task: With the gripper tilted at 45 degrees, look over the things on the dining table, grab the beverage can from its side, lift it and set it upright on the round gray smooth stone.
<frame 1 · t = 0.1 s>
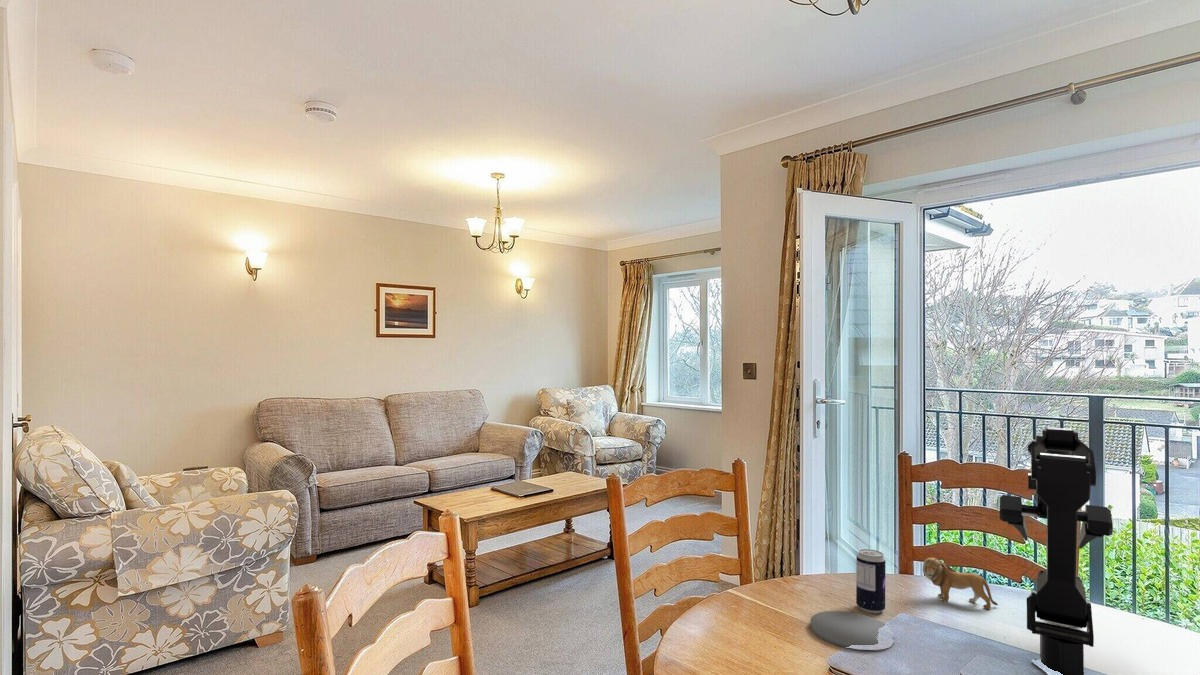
hand: (1052, 543, 130), 15 cm above the table, tool tilted 35°, fingers open, 9 cm apart
beverage can: (870, 610, 130), on the table
lion figurine: (957, 603, 135), on the table
gray smooth stone: (851, 632, 118), on the table
supplement bottle: (1062, 623, 125), on the table
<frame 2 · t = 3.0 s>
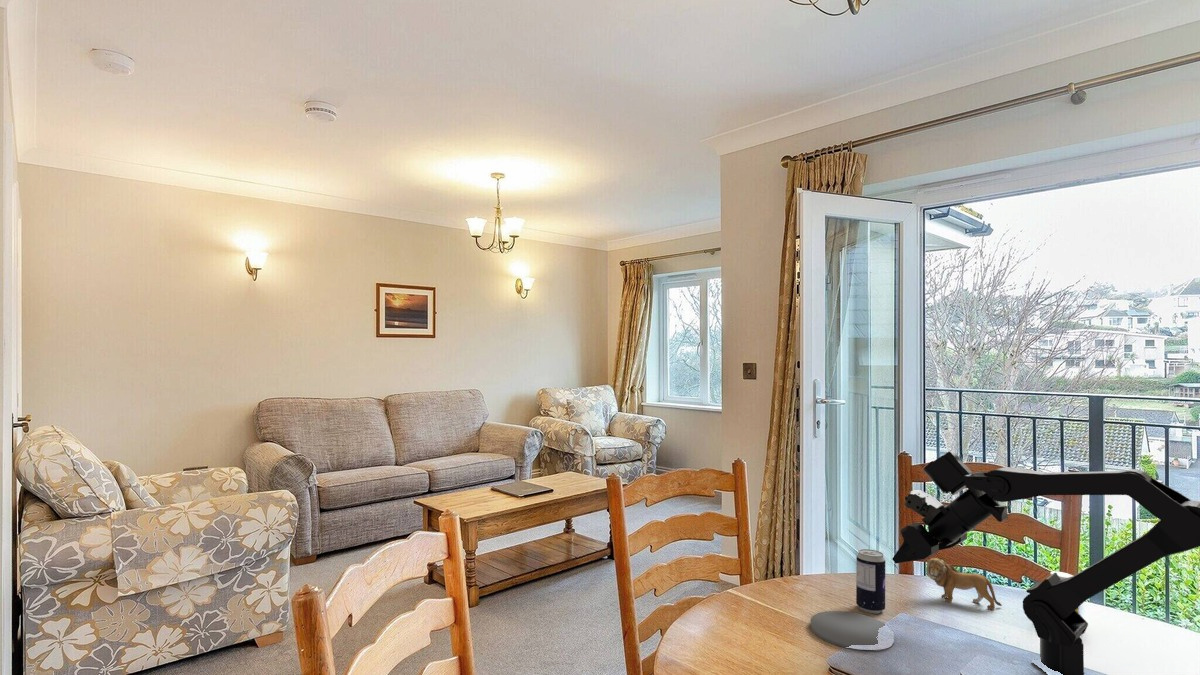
hand: (904, 556, 125), 13 cm above the table, tool tilted 45°, fingers open, 9 cm apart
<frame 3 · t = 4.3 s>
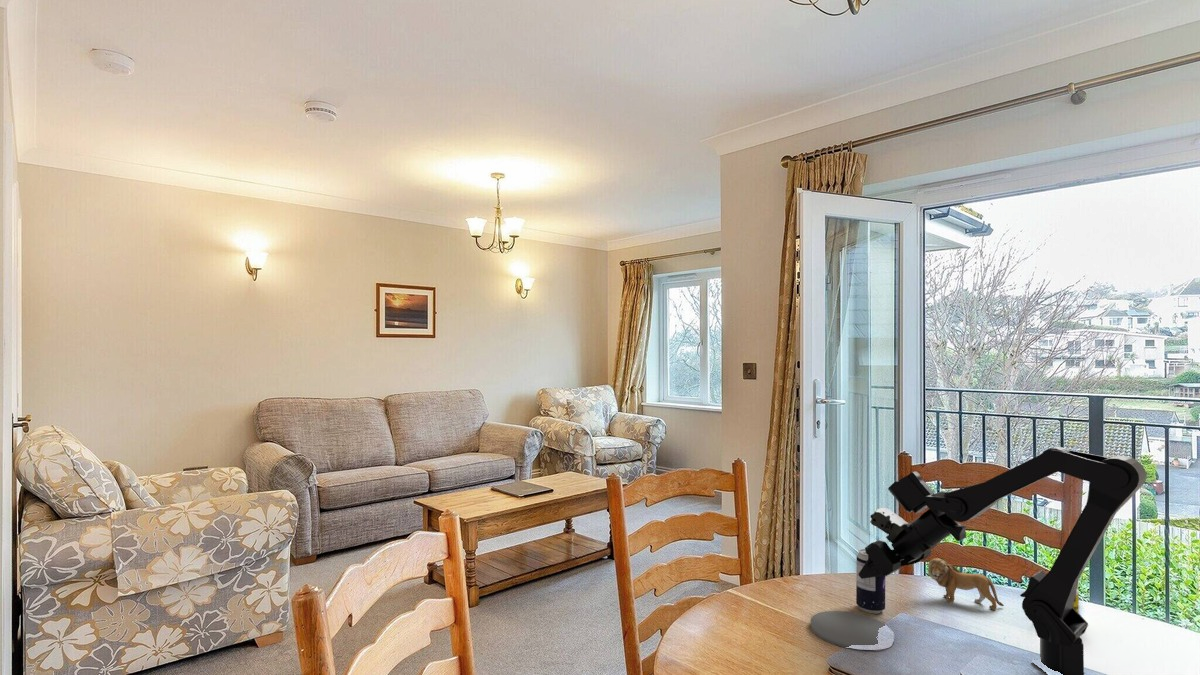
hand: (870, 572, 130), 8 cm above the table, tool tilted 45°, fingers open, 9 cm apart
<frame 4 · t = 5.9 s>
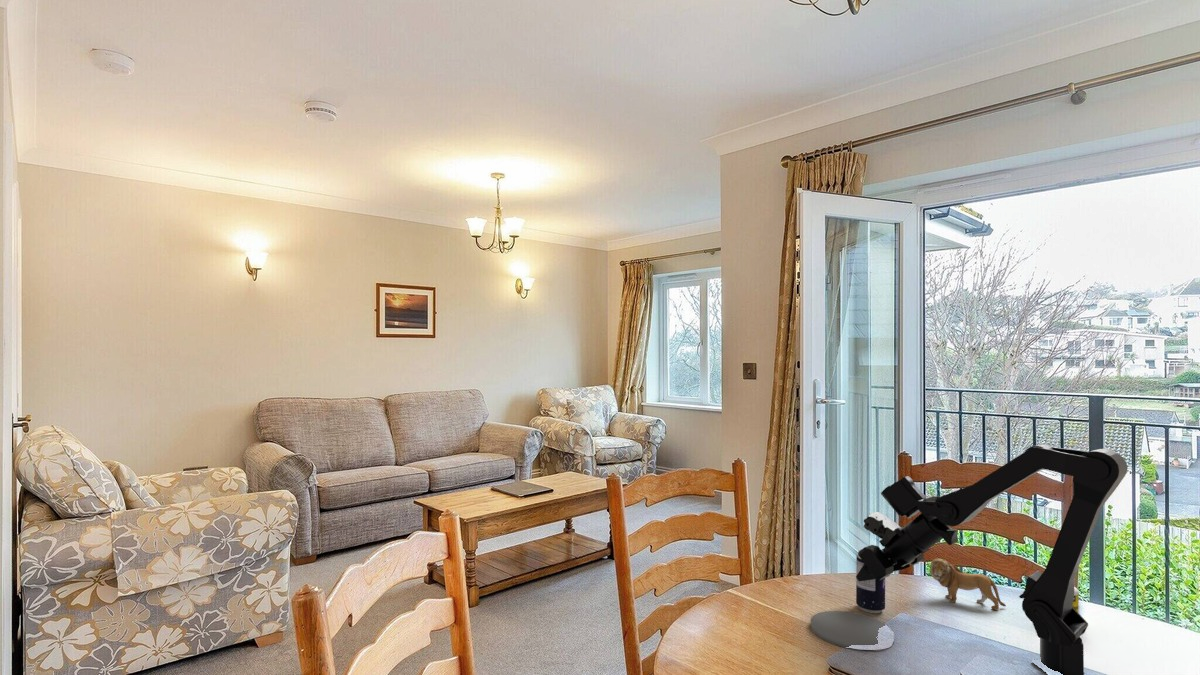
hand: (864, 576, 131), 7 cm above the table, tool tilted 45°, fingers closed on beverage can, 6 cm apart
beverage can: (870, 610, 130), on the table, touching gripper
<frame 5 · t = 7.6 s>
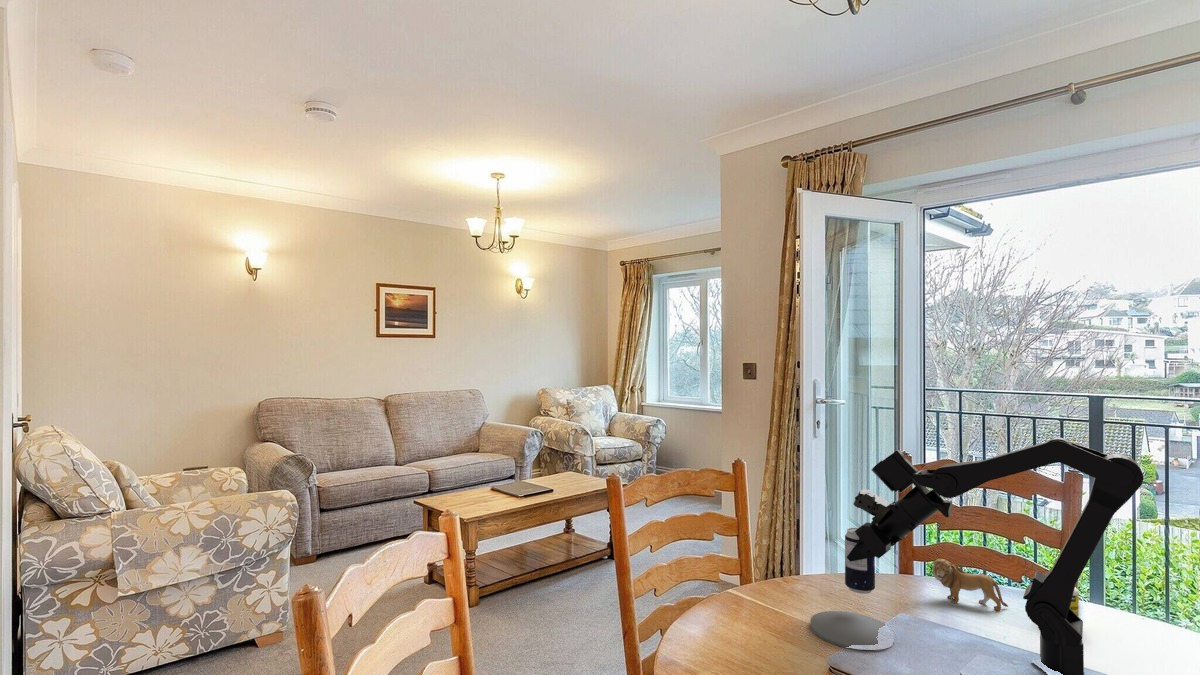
hand: (852, 556, 126), 12 cm above the table, tool tilted 45°, fingers closed on beverage can, 6 cm apart
beverage can: (859, 590, 125), point 5 cm above the table, touching gripper
when the fingers open (9 cm above the table, at t = 9.5 s): beverage can stays where it is, resting on gray smooth stone.
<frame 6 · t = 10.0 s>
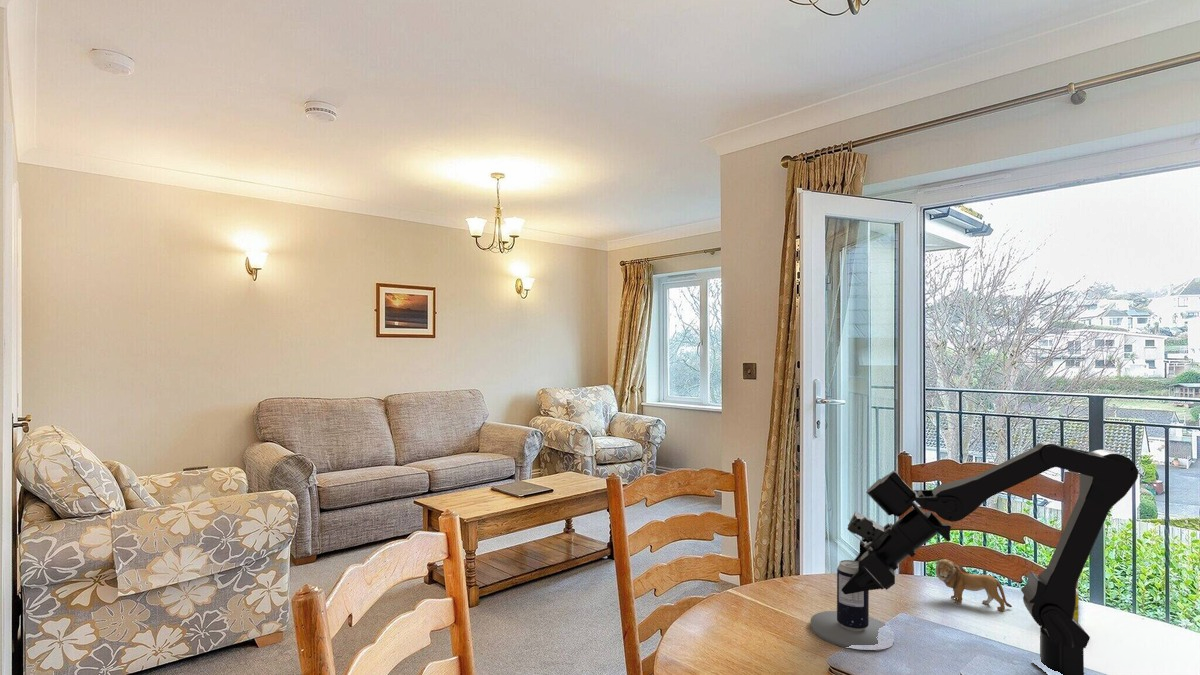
hand: (844, 584, 119), 9 cm above the table, tool tilted 45°, fingers open, 9 cm apart
beverage can: (852, 627, 118), point 1 cm above the table, touching gray smooth stone
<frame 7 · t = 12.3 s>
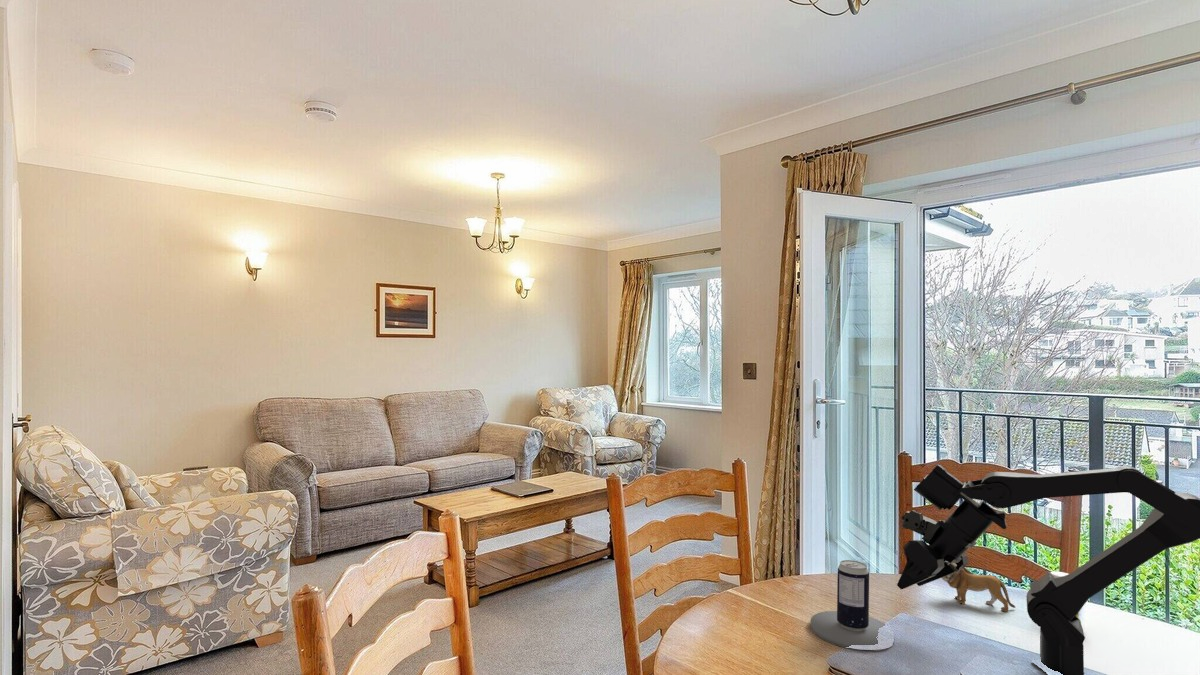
hand: (908, 585, 118), 9 cm above the table, tool tilted 35°, fingers open, 9 cm apart
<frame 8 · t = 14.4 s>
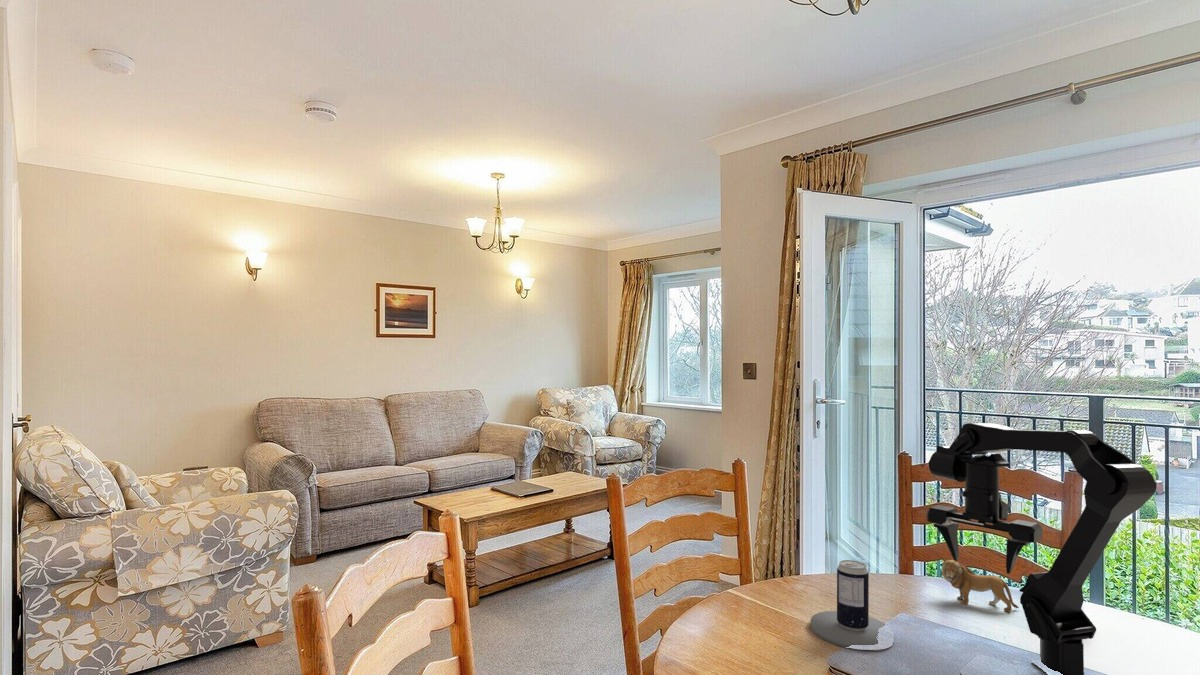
hand: (981, 566, 119), 13 cm above the table, tool pointing down, fingers open, 9 cm apart
at the end: beverage can inside the target area on the gray smooth stone (0.2 cm from its centre), point 1.0 cm above the gray smooth stone's base; beverage can tilted 0°; the gripper is holding nothing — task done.
